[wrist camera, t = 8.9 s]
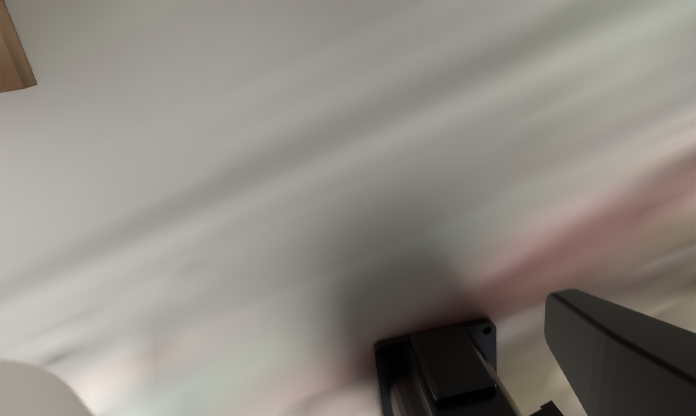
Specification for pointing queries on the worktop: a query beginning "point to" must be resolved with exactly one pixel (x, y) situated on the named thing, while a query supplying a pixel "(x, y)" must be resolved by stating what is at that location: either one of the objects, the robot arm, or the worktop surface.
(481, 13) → the worktop surface
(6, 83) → the walnut board
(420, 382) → the robot arm
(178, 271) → the worktop surface
